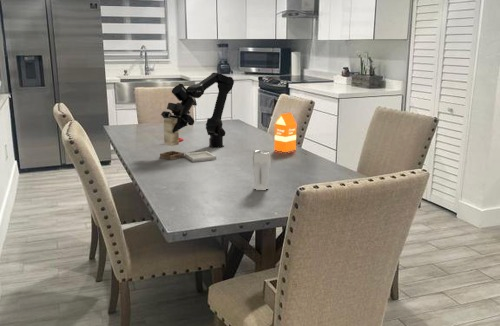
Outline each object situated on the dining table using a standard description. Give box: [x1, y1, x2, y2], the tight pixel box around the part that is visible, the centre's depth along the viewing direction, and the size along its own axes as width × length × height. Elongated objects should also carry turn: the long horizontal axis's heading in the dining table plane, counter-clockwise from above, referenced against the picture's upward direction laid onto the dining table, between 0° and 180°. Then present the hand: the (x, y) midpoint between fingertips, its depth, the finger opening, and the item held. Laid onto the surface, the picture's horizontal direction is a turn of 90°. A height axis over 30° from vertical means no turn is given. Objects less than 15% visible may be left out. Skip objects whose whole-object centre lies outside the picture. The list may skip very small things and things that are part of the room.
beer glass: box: [252, 149, 271, 191], centre depth 189 cm, size 7×7×15 cm
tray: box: [184, 150, 217, 163], centre depth 240 cm, size 12×12×2 cm
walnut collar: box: [159, 150, 185, 161], centre depth 241 cm, size 8×8×2 cm
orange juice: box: [274, 112, 297, 153], centre depth 256 cm, size 8×9×20 cm
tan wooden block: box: [163, 117, 180, 147], centre depth 238 cm, size 5×5×13 cm
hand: (169, 131), depth 237 cm, fingers closed on tan wooden block, 5 cm apart
